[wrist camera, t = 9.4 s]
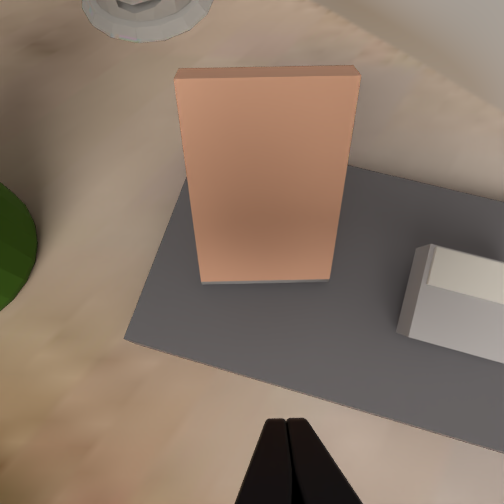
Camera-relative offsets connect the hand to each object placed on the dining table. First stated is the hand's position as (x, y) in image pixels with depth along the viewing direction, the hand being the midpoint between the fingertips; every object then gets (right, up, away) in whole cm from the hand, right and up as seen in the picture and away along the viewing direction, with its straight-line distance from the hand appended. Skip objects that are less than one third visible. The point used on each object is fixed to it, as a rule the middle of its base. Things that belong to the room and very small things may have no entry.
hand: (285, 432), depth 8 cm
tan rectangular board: (0, +2, +11) cm, 11 cm away
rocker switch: (+9, +1, +10) cm, 14 cm away
